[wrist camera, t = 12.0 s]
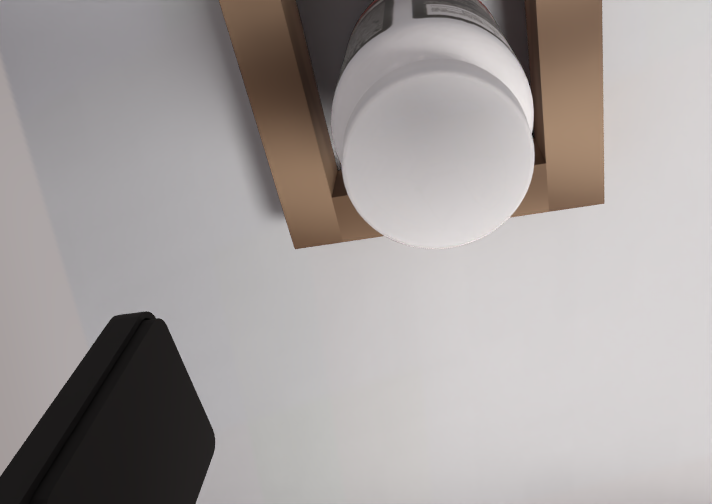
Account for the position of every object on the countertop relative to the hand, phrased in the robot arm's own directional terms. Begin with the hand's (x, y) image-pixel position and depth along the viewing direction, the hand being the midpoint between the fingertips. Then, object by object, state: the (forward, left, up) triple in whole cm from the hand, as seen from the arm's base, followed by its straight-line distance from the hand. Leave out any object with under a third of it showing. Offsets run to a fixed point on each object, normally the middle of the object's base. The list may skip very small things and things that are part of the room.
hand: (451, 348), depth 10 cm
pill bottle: (0, 0, -16) cm, 16 cm away
